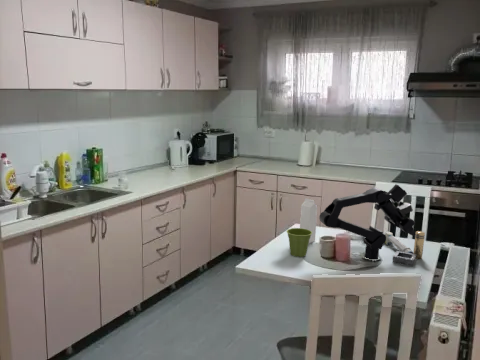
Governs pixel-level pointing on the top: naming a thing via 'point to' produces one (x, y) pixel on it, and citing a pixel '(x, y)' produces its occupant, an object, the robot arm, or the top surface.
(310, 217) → the milk
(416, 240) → the disc
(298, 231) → the plant pot
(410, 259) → the collar
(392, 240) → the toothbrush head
